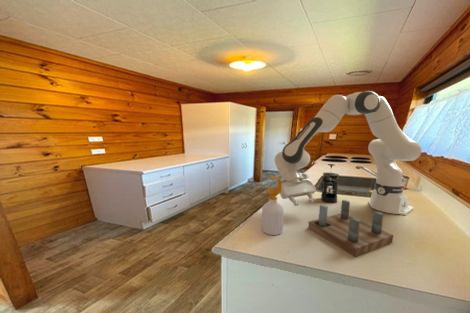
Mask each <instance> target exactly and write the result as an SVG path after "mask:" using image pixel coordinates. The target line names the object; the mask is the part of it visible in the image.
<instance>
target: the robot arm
mask: <svg viewBox="0 0 470 313" xmlns="http://www.w3.org/2000/svg"><path fill="white" fill-rule="evenodd" d="M358 115H359V116H360V115H364V116H365V118H366V121H367V123H368V127H369V129H370V132H371V134H372V135H373V136H374V137H376V139H372V140H371V141H370V142H369V144H368V148H367V149H368V153H369V154H370V155H371V156H372V157H373V159H374V162H375V166H376V180H375V182H374V185H373V186H374V189H373V190H372V191H371V196H370V200H368V202H367V204H368V205H369V206H370V208H372V209H374V210H376V211H378V212H381V213H388V214H396V215H397V214H398V215H402V216H407V214H409V213H410V212H411V211H413V210H414V206H412V205H409V197H408V196H407V195H405V193H404V191H403V190H406V185H404V184H402V183H403V174H404V172H403V170H402V168H400V167H399V166H398V165H397V161H399V162H410V161H411V162H413V161H416V160H417V159H419V157H420V156H421V155H422V152H423V151H422V146H421V144H420V143H419V142H417V141H416V140H413V139H412V138H410V137H409V136H408V135H406V134H405V132H404V131H403V130H402V129H401V128H400V126H399V125H398V123H397V120H396V117H395V114H394V113H393V110H392V108H391V105H390V104H389V103H388V101H387V99H386V98H385V97H384V96H381V95H378V93H376V92H375V91H372V90H371V91H370V90H365V91H358V92H357V91H356V92H353V93H351V94H347V95H343V94H335V95H334V94H333V95H332V96H331V97H330V98H329V99H328V100H327V101H326V102H325V103H324V104H323V105H322V107H321V108H320V109H319V111H318V112H317V113H316V115H315V116H314V117H312V118H311V119H310V120H309V121H308V122H307V123H306V124H305V125H304V126H303V127H302V129H301V130H300V131H299V132H298V133H297V135H296V136H295V137H294V138H293V139H292V140H290V141H289V142H288V143H287V144H285V146H283V148H282V151H279V152H278V153H277V154H276V155H275V156H274V159H273V160H274V164H275V167H276V169H277V171H278V173H279V174H280V177H281V179H282V180H281V181H282V187H281V192H280V193H279V194H280V197H281V198H282V199H283V200H286V199H289V201H290V202H291V203H292V204H293V205H294V207H297V206H299V205H300V203H299V201H298V200H296V199H295V198H298V197H299V198H300V197H303V196H307V197H308V200H307V201H308V202H309V203H310V204H312V203H314V199H313V197H314V196H313V194H314V193H316V191H317V188H316V186H315V184H314V183H313V182H312V180H311V179H310V178H309V174H306V173H302V172H299V171H298V170H301V169H303V168H306V167H308V166H309V164H310V163H311V155H310V154H309V152H307V150H305V147H306V145H307V144H308V143H309V142H310V141H311V140H312V138H313V137H314V136H315V135H316V134H318V133H329V132H331V131H332V130H334V129H335V128H336V127H337V126H338V125H339V123H340V122H341V120H342V118H343V117H344V116H358ZM276 187H278V181H277V182H276Z"/></svg>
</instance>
